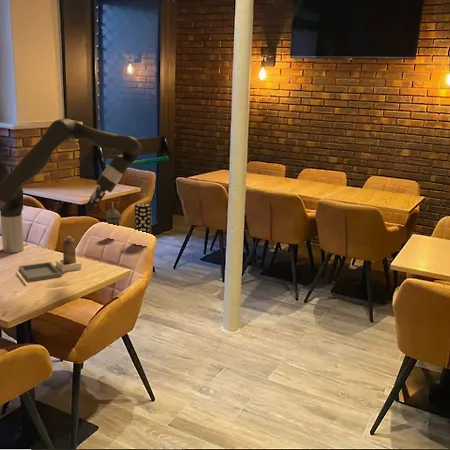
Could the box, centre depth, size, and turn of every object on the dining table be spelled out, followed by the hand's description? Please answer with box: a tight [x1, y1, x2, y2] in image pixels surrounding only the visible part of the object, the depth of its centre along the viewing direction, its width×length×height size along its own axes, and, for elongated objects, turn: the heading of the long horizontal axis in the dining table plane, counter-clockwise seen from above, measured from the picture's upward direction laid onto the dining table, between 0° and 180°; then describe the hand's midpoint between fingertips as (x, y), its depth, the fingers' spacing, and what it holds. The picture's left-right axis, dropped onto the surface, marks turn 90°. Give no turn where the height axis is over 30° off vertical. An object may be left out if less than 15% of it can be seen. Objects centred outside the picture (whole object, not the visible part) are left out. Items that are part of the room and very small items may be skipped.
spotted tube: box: [134, 202, 152, 235], centre depth 262 cm, size 8×8×20 cm
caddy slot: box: [55, 258, 82, 273], centre depth 221 cm, size 9×8×4 cm
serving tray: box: [18, 261, 63, 283], centre depth 213 cm, size 16×13×2 cm
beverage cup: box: [105, 200, 121, 227], centre depth 269 cm, size 7×7×20 cm
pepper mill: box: [62, 235, 77, 265], centre depth 220 cm, size 5×5×13 cm
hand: (87, 210), depth 216 cm, fingers open, 8 cm apart
